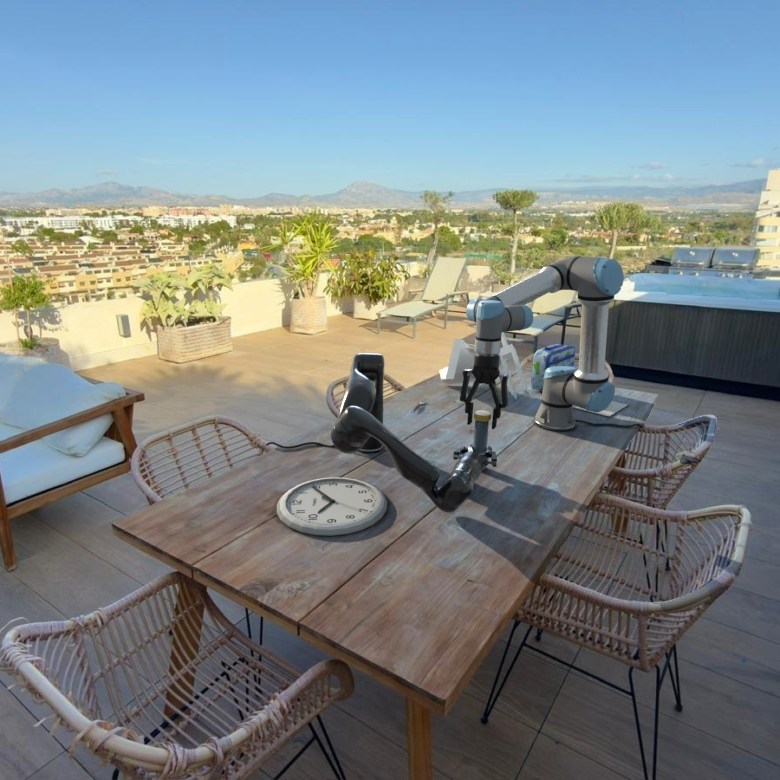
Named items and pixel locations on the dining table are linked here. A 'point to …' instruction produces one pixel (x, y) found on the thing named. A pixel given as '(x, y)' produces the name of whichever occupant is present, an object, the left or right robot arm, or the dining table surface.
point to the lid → (482, 415)
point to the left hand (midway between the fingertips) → (481, 447)
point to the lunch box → (550, 362)
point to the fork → (420, 403)
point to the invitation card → (608, 408)
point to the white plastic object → (465, 360)
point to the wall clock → (331, 506)
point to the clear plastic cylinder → (480, 436)
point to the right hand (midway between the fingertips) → (481, 425)
